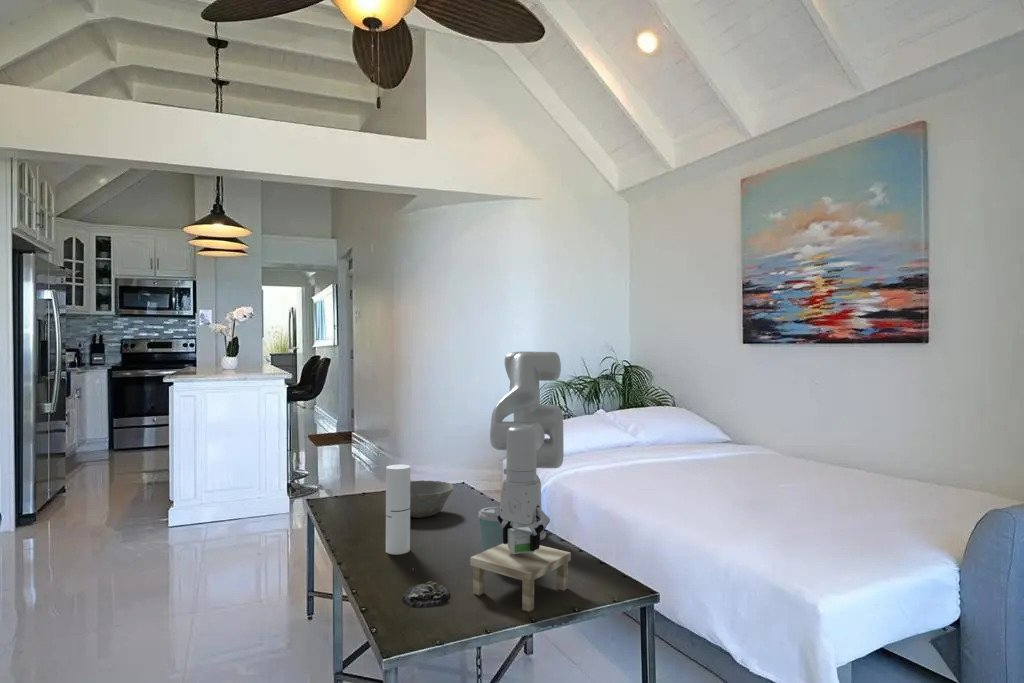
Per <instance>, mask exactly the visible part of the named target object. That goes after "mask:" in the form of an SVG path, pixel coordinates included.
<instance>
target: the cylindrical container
mask: <svg viewBox="0 0 1024 683" xmlns="http://www.w3.org/2000/svg"><path fill="white" fill-rule="evenodd" d="M385 470H386V471H385V553H387V554H389V555H403V554H406V553H409V552H410V551H411V516H410V482H411V465H408V464H391V465H387V466H385Z"/></svg>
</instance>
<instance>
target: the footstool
mask: <svg viewBox="0 0 1024 683" xmlns="http://www.w3.org/2000/svg"><path fill="white" fill-rule="evenodd" d="M571 556H572V554H571V552H570V551H565V550H561V549H557V548H553V547H549V546H544V545H541V544H540V547H539V549H537V550H535V551H534V552H529V553H519V554H513V553H512V552H511V551H510V549H509V548H508V544H500V545H498V546H496V547H493V548H491V549H489V550H486V551H484V552H483V551H482V552H479V553H477V554H474V555H473V556H470V558H469V564H470V566H472V594H473V595H476V596H482V595H483V594H485V571H489V572H492V573H495V574H499V575H501V576H505V577H509V578H513V579H515V580H519V581H521V584H522V585H521V586H522V587H521V588H522V590H521V593H522V594H521V597H522V599H521V602H522V603H521V604H522V606H521V607H522V608H521V610H522V611H525V612H532V611H533V610H534V609H535V580H537V579H539V578H541V577H543V576H544V575H547V574H548V573H551V572H552V571H553V570H556V589H557V590H558V591H563V592H564V591H566V590H567V589H569V582H568V581H569V562H570V561H572V560H571V559H572V558H571Z"/></svg>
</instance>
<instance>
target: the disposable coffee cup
mask: <svg viewBox="0 0 1024 683" xmlns="http://www.w3.org/2000/svg"><path fill="white" fill-rule="evenodd" d="M496 507H497V506H489V507H488V506H487V507H484V508H481V509H480V510H479V511H478V519H479V524H480V525H479V526H480V536H481V545H482V552H484V551H486V550H489V549H491V548H493V547H496V546H498V545H500V544H503V528H502V527H501V523H500V522H499V520H498V518H497V515H496V513H495V511H494V509H495V508H496ZM510 526H512V527H513V522H512V523H511V525H510Z"/></svg>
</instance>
